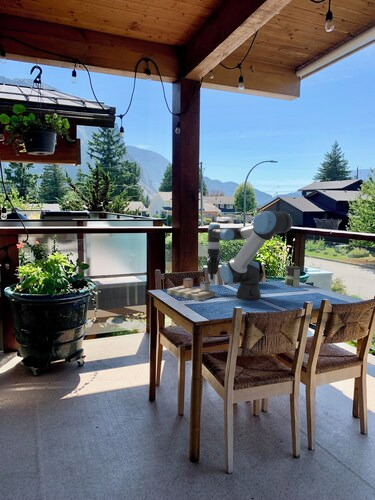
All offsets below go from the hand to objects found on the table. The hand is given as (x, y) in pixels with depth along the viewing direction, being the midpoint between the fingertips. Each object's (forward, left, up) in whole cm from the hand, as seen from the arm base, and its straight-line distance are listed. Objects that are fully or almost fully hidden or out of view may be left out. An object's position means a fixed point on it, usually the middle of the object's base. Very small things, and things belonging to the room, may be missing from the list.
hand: (212, 284), depth 238 cm
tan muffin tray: (+7, +14, -6) cm, 16 cm away
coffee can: (-28, -61, -6) cm, 67 cm away
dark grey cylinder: (-5, -39, -6) cm, 40 cm away
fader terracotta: (+14, +8, -3) cm, 16 cm away
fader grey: (0, +8, -3) cm, 8 cm away
